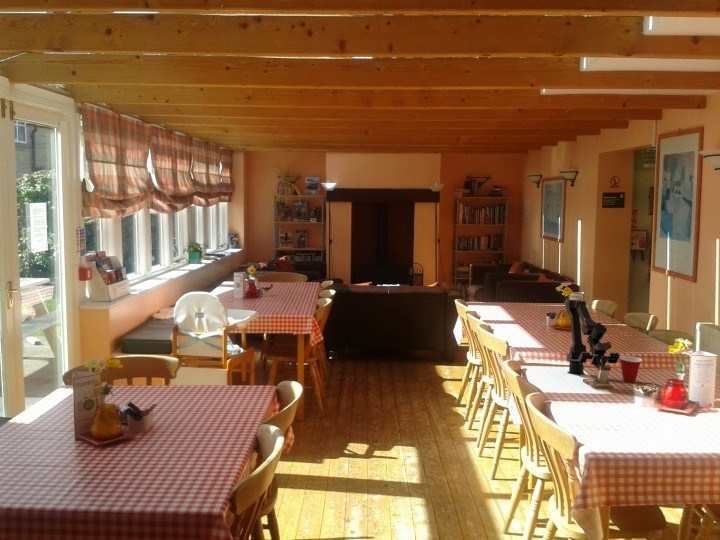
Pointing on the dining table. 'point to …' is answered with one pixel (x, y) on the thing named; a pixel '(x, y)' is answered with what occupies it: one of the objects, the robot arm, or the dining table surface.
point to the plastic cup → (630, 367)
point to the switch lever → (603, 374)
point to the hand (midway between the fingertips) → (603, 372)
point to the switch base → (595, 384)
